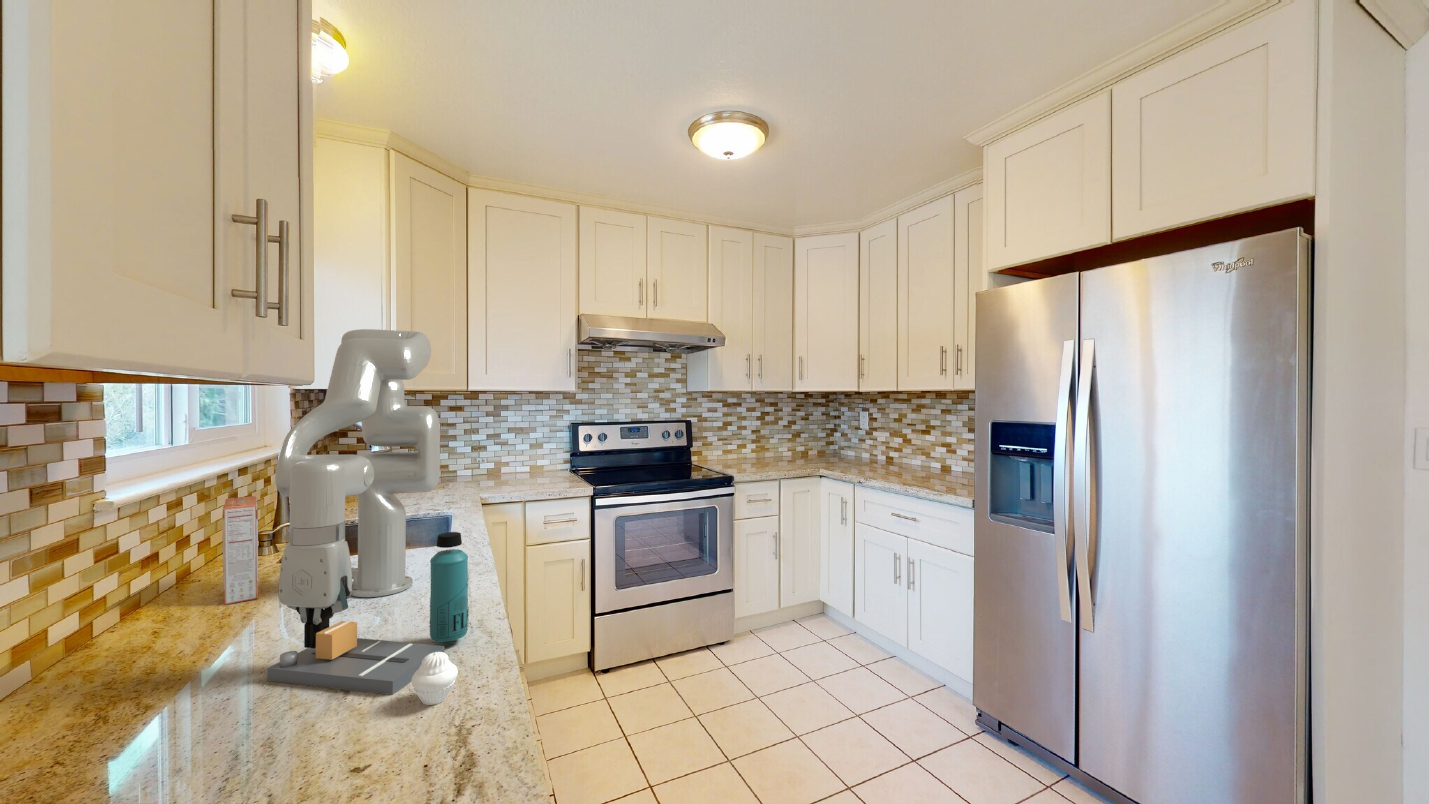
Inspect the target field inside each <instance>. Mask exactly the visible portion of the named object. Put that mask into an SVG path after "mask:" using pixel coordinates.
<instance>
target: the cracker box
mask: <svg viewBox="0 0 1429 804" xmlns="http://www.w3.org/2000/svg"><path fill="white" fill-rule="evenodd" d="M258 510H259V509H258V500H257V496H256V495H254V496H241V497H238V496H237V497H230V498H225V500H224V505H223V510H222V511H223V512H222V569H223V571H222V572H223V601H224V602H223V603H224V605H231V604H236V603H242V602H248V601H253V600H258V599H259V513H258Z"/></svg>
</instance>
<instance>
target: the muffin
mask: <svg viewBox="0 0 1429 804" xmlns="http://www.w3.org/2000/svg"><path fill="white" fill-rule="evenodd" d="M458 675H459V671H458V667H457V666H456V664H454V663H452V661H450V659H449V656H448V654H447V653H445V651H444V652H435V653H434V652H433V653H430V654H429V655H427V656H426V657H425V658H424V659H423V660H422V665H421V666H420V667H419V669H418V670H417V671H416V672H415V673H414V675H413V677H412V680H411V682H410V683H411V686H412V687H413V690H414V692H415V694H416V695H417V697H418V698H419V700H420V701H421V703H422V704H423V705H426V706H435V705H439V704H441V703H442V702H444V701H445V700H446V699H448V697H449V694H450V693H451V691H452V689H453V687H454V684H455V683H456V679H457V677H458Z"/></svg>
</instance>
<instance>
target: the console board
mask: <svg viewBox="0 0 1429 804" xmlns="http://www.w3.org/2000/svg"><path fill="white" fill-rule="evenodd" d="M433 652H434V653H435V652H444V653H445V645H438V644H436V645H435V644H427V643H425V644H424V643H414V642H405V641H393V640H383V639H373V638H371V639H370V638H360V637H357V646H356V647H354V648H353V649H351V650H349V651H347V652H345V653H343V654H342V655H340V656H338V657H336V658H334V659H332V660H329V659H319V658H316V648H305V649H303V650H301V651H300V652H298V651H296V650H290V651H286V652H282V653H281V654H280V655H279V662H277V663H275V664H273V665H271V666H269V667H267V672H266V673H267V676H266V678H267V681H268V682H273V683H275V682H276V683H283V684H293V685H294V684H295V685H299V686H300V685H303V686H310V687H311V686H312V687H320V688H329V689H339V690H346V691H347V690H349V691H355V692H365V693H373V694H374V693H375V694H384V695H390V696H391V695H394V694H396V693H397V692H398V691H400V690H402V689H403V688H404V687H406V686H407V685H408V684H409V683H412V682H411V680H412V677H413V675H414V673H415V672H416V671H417V670H418V669H419V667H420V666H421V665H422V660H423V659H424V658H425V657H426V656H427V655H429V654H430V653H433Z"/></svg>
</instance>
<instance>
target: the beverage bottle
mask: <svg viewBox="0 0 1429 804" xmlns="http://www.w3.org/2000/svg"><path fill="white" fill-rule="evenodd" d="M436 538H437V540H436V547H437V548H443V549H444V550H441V551H440V550H439V551H438V552H437V553H436V554H434V555H433V556H432V557H431V558H430V562H429V563H430V595H429V596H430V597H429V612H428V613H429V623H428V625H429V628H428V629H429V636H430V638H431V640H432V641H434V642H438V643H439V642H440V643H444V642H445V643H446V642H452V641H456V640H458V639H462V638H463V637H465V636H466V635H467V633H468V630H469V619H470V618H469V610H470V609H469V601H468V600H469V597H468V595H469V591H468V590H469V579H470V577H469V576H470V575H469V569H468V568H469V565H468V559H469V556H468V554H467V553H466V552H465V551H464V550H461V549H458V548H457V549H456V547H459V546H461V545H462V544H463V543H462V533H461V532H459V531H447V532H442V533H439V534H438V535H437V537H436ZM454 547H455V548H454ZM446 548H447V549H446ZM448 548H451V549H448ZM452 548H453V549H452Z"/></svg>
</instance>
